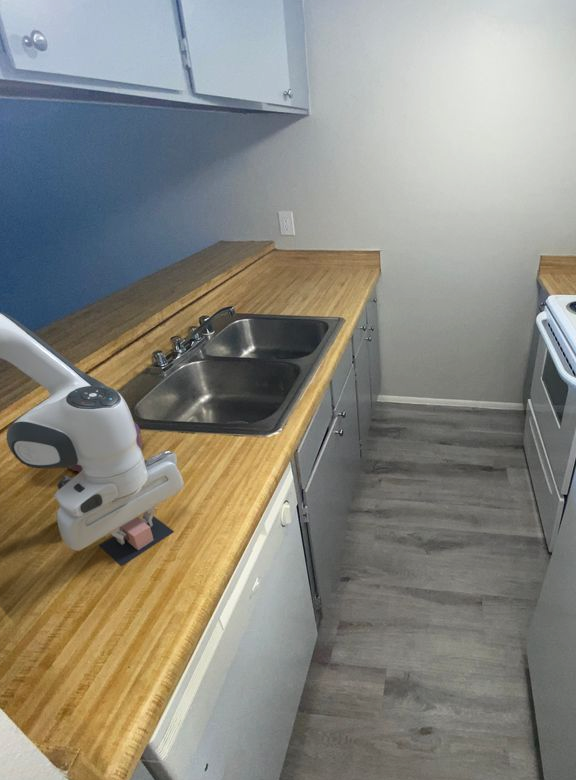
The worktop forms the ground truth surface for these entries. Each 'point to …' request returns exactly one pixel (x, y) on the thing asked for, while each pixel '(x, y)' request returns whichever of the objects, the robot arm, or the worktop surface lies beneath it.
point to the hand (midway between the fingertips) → (135, 533)
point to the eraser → (138, 533)
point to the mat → (127, 551)
